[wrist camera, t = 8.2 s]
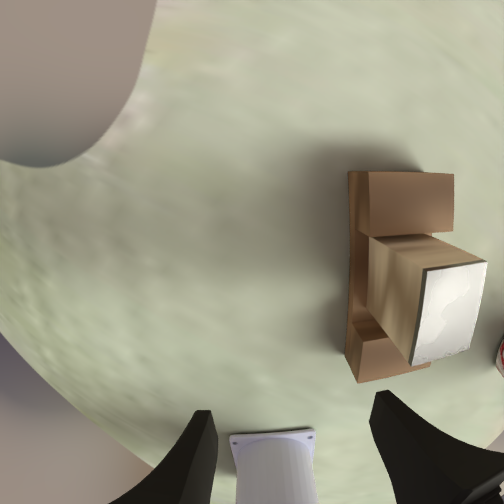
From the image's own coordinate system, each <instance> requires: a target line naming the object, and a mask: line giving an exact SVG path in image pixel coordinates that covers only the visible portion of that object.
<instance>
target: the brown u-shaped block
mask: <svg viewBox="0 0 504 504" xmlns="http://www.w3.org/2000/svg"><path fill="white" fill-rule="evenodd" d="M348 185H349V212H350V274H349V301H348V319H347V333H346V346H345V358H346V360H347V362H348V364H349V366H350V368H351V371H352V373H353V375H354V377H355V379H356V381H357V384H358V383H363V382H368V381H373V380H378V379H382V378H387V377H391V376H395V375H400V374H404V373H408V372H411V371H415V370H419V369H423V368H426V367H430V364H431V361H430V362H427V363H423V364H420V365H416V366H412V367H411V366H410V365H409V363H408V362H407V360H406V359H405V358H404V356H403V355H402V354H401V352H400V351H399V350H398V348H397V347H396V346H395V344H394V343H393V342H392V340H391V339H390V338H389V336H388V335H387V334H386V332H385V331H384V330H383V328H382V327H381V326H380V325H379V323H378V322H377V321H376V319H375V318H374V317H373V316H372V314H371V313H370V312H369V311H368V309H367V308H366V305H367V289H368V266H369V237H380V236H393V235H407V234H421V233H424V234H427V235H429V236H432V233H435V232H450V231H453V221H454V174H445V173H429V172H397V171H349V172H348Z"/></svg>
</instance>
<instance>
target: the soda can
mask: <svg viewBox="0 0 504 504" xmlns="http://www.w3.org/2000/svg"><path fill="white" fill-rule="evenodd" d="M496 368H497V369H498V371H499V372H500V373H501V375H502V376H503V377H504V339H503V340H502V342H501V344H500V347H499V350H498V355H497V359H496Z"/></svg>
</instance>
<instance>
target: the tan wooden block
mask: <svg viewBox="0 0 504 504" xmlns="http://www.w3.org/2000/svg"><path fill="white" fill-rule="evenodd" d="M486 269H487V261H485V260H483V259H481V258H479V257H477V256H474V255H472V254H470V253H468V252H466V251H464V250H461V249H459V248H457V247H455V246H452V245H450V244H448V243H446V242H443V241H441V240H439V239H436V238H434V237H432V236H429V235H427V234H424V233H421V234H407V235H393V236H380V237H369V266H368V289H367V305H366V308H367V309H368V311H369V312H370V313H371V314H372V316H373V317H374V318H375V319H376V321H377V322H378V323H379V325H380V326H381V327H382V328H383V330H384V331H385V332H386V334H387V335H388V336H389V338H390V339H391V340H392V342H393V343H394V344H395V346H396V347H397V348H398V350H399V351H400V352H401V354H402V355H403V356H404V358H405V359H406V360H407V362H408V363H409V365H410V366H411V367H412V366H416V365H420V364H423V363H427V362H430V361H434V360H437V359H440V358H444V357H447V356H450V355H453V354H456V353H459V352H462V351H465V350H468V349H469V347H470V344H471V340H472V336H473V333H474V329H475V325H476V321H477V317H478V312H479V308H480V303H481V298H482V293H483V288H484V282H485V276H486Z"/></svg>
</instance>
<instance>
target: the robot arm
mask: <svg viewBox="0 0 504 504" xmlns="http://www.w3.org/2000/svg"><path fill="white" fill-rule="evenodd" d="M369 424H370V428H371V431H372V435H373V438H374V441H375V444H376V446H377V448H378V451H379V453H380V455H381V458H382V460H383V462H384V465H385V467H386V469H387V472H388V474H389V477H390V479H391V482H392V486H393V490H394V494H395V498H396V502H397V504H504V495H503V496H500V494H499V493H500V492H501V488H500V486H499V485H500V484H501V483H502V482H503V481H504V453H501V452H495V451H490V450H486V449H482V448H479V447H476V446H473V445H470V444H467V443H465V442H463V441H460V440H458V439H456V438H454V437H452V436H450V435H448V434H446V433H444V432H442V431H441V430H439V429H438V428H436V427H434V426H433V425H432V424H430V423H429V422H427V421H426V420H424V419H423V418H422V417H420V416H419V415H418V414H417V413H415V412H414V411H413V410H412V409H410V408H409V407H408V406H407V405H406V404H405V403H403V402H402V401H401V400H400V399H399V398H398V397H396V396H395V395H394V394H393V393H392V392H391V391H389V390H384V391H380V392H376V395H375V399H374V404H373V408H372V412H371V416H370V420H369ZM315 437H316V432H315V430H314V429H304V430H296V431H286V432H275V433H261V434H238V435H231V436H230V437H229V442H230V446H231V450H232V454H233V458H234V462H235V466H236V470H237V484H236V504H319V501H318V495H317V489H316V484H315V478H314V473H313V467H312V463H313V455H314V446H315ZM217 454H218V436H217V432H216V429H215V425H214V421H213V417H212V413H211V410H197V411H195V413H194V415H193V416H192V418H191V420H190V422H189V423H188V425H187V427H186V428H185V430H184V432H183V433H182V435H181V436H180V438H179V439H178V440H177V442H176V443H175V445H174V446H173V448H172V449H171V450H170V451H169V453H168V454H167V455H166V456H165V458H164V459H163V460H162V461H161V462H160V463H159V464H158V466H157V467H156V468H155V469H154V470H153V471H152V472H151V473H150V474H149V475H148V476H146V477H145V478H144V479H143V480H142V481H141V482H140V483H138V484H137V485H136V486H135V487H133V488H132V489H131V490H129V491H128V492H126V493H125V494H123V495H122V496H121V497H119V498H117V499H116V500H114V501H112V502H111V503H109V504H210V497H211V491H212V485H213V480H214V474H215V468H216V463H217Z"/></svg>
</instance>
